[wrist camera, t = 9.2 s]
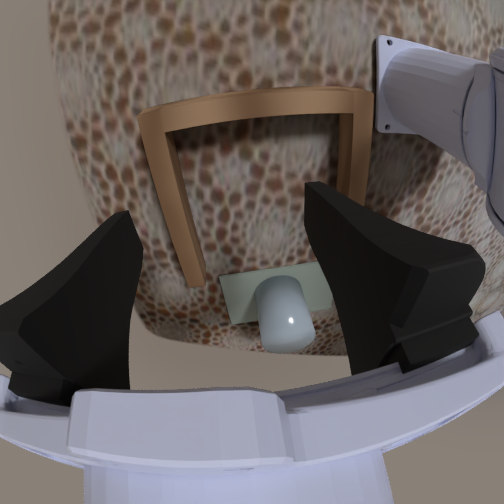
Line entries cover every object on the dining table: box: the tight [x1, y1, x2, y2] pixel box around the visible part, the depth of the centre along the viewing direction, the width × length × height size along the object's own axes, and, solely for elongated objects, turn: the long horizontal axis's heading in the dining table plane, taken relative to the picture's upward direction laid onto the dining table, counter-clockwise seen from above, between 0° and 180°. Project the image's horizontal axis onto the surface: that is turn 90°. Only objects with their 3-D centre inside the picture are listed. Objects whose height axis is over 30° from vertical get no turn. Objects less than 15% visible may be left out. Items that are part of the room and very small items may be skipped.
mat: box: [219, 261, 333, 324], centre depth 30 cm, size 12×8×1 cm, turn 96°
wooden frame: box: [137, 86, 374, 288], centre depth 20 cm, size 15×15×2 cm
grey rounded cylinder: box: [254, 275, 315, 354], centre depth 27 cm, size 7×5×6 cm
